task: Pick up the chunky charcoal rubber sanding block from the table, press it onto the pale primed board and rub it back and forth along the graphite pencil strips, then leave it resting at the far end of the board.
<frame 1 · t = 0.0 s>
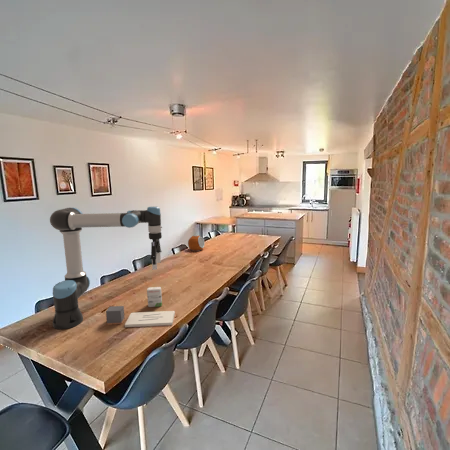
hand: (156, 265, 171), 28 cm above the table, fingers open, 13 cm apart
sanding block: (116, 321, 159), on the table
board: (151, 319, 161), on the table
ink box: (155, 305, 180), on the table
alarm clock: (196, 249, 321), on the table
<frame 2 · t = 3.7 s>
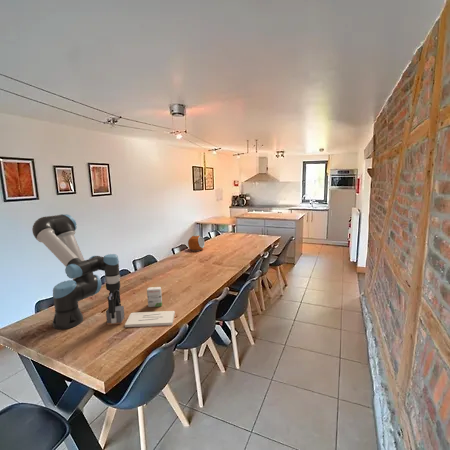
hand: (115, 319, 159), 1 cm above the table, fingers closed on sanding block, 6 cm apart
sanding block: (116, 321, 159), on the table, touching gripper
everything else where it was.
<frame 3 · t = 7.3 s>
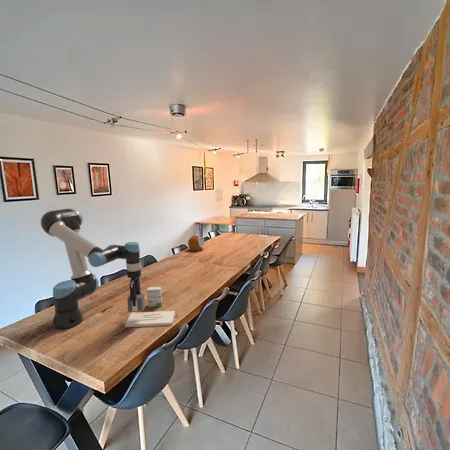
hand: (136, 308, 159), 8 cm above the table, fingers closed on sanding block, 6 cm apart
sanding block: (136, 309, 159), point 7 cm above the table, touching gripper
everything else where it was.
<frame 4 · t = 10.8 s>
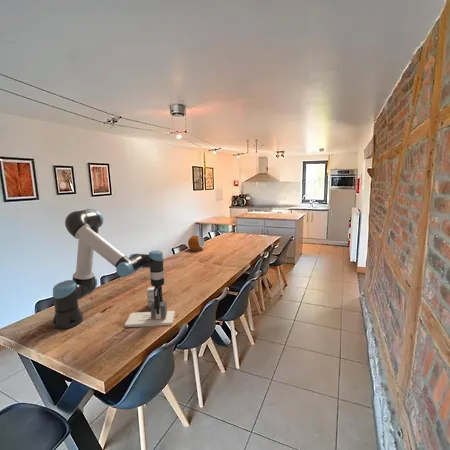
hand: (159, 315, 161), 2 cm above the table, fingers closed on sanding block, 6 cm apart
sanding block: (159, 316, 161), point 2 cm above the table, touching gripper
everything else where it was.
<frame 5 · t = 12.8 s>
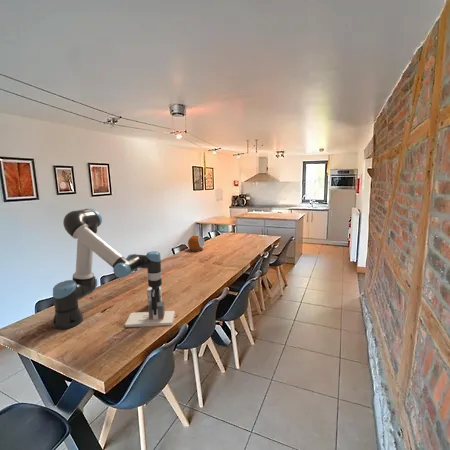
hand: (156, 316, 161), 2 cm above the table, fingers closed on sanding block, 6 cm apart
sanding block: (157, 317, 161), point 2 cm above the table, touching gripper
everything else where it was.
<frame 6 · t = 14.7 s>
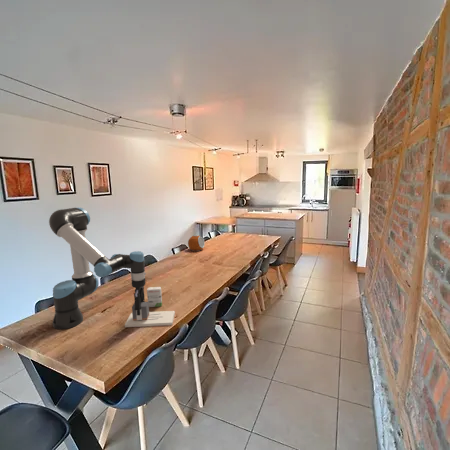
hand: (140, 316, 160), 2 cm above the table, fingers closed on sanding block, 6 cm apart
sanding block: (141, 317, 160), point 2 cm above the table, touching gripper
everything else where it was.
when the fingers open (2 cm above the table, at t = 18.2 s): sanding block stays where it is, resting on board.
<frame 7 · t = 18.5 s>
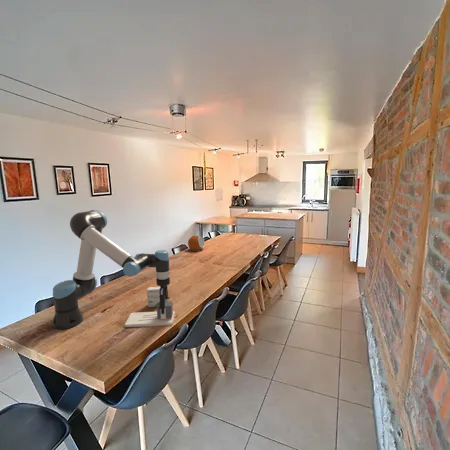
hand: (164, 314, 161), 3 cm above the table, fingers open, 10 cm apart
sanding block: (165, 316, 161), point 2 cm above the table, touching board
everything else where it was.
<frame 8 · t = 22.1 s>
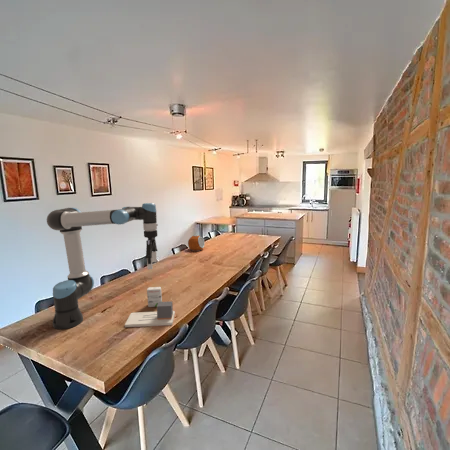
hand: (152, 265, 163), 31 cm above the table, fingers open, 13 cm apart
nothing on the table moved.
at the end: sanding block inside the target area on the board (8.2 cm from its centre), point 1.5 cm above the board's base; sanding block tilted 0°; sanding block moved 28.3 cm from its start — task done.
